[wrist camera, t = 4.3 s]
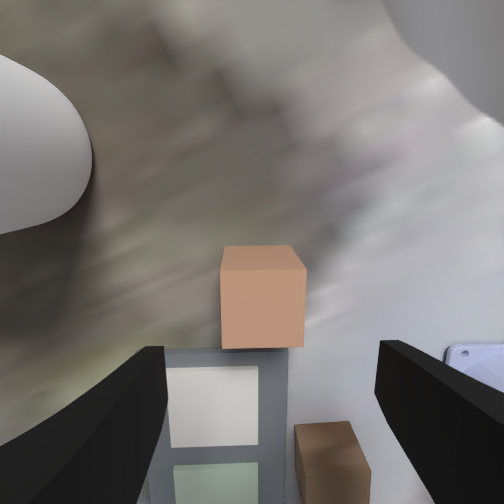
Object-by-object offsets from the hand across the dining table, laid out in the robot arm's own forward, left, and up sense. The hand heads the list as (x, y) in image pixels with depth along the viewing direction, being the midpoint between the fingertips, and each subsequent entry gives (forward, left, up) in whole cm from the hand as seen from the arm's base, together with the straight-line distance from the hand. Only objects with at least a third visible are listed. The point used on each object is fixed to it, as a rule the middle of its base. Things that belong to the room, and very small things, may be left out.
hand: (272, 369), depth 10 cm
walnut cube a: (-5, +13, -10) cm, 17 cm away
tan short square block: (0, 0, -10) cm, 10 cm away
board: (+3, +17, -9) cm, 20 cm away
